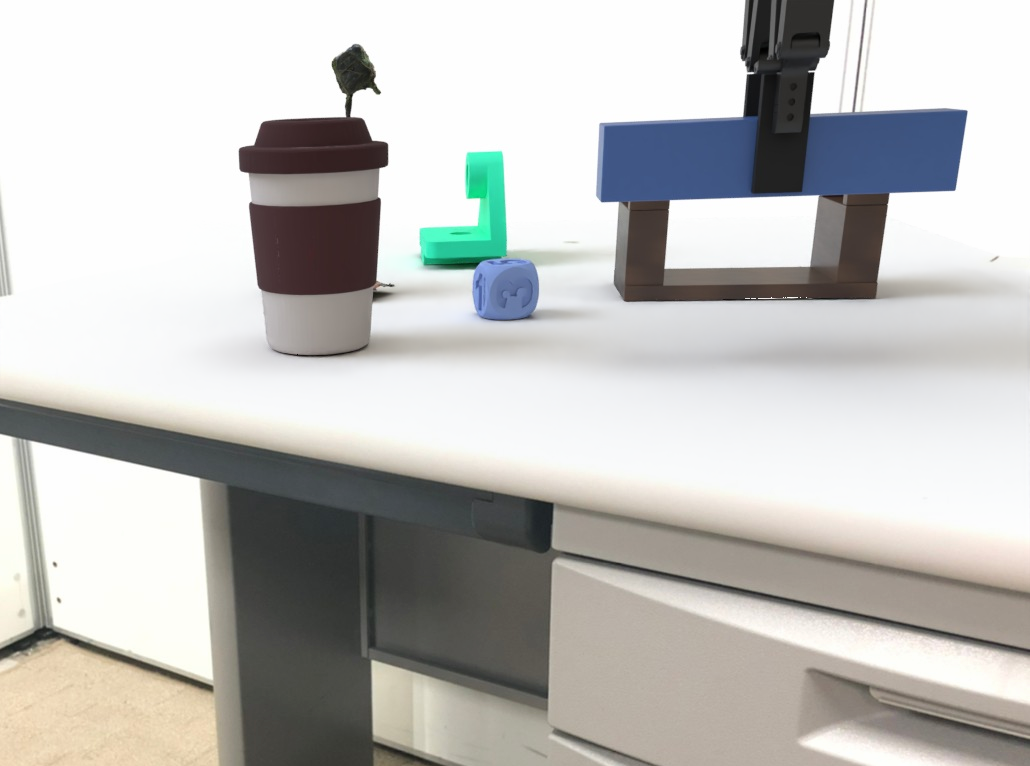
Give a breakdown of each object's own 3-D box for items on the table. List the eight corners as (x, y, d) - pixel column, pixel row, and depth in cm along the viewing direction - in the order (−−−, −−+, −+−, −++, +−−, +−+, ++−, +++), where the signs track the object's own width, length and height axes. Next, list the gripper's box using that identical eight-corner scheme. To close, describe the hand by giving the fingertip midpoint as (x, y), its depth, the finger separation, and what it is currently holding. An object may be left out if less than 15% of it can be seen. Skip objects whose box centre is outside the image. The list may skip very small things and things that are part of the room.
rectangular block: (934, 185, 72) (946, 108, 71) (956, 191, 69) (968, 110, 67) (595, 196, 75) (599, 122, 74) (600, 202, 72) (604, 125, 71)
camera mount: (418, 253, 126) (419, 150, 122) (491, 250, 125) (494, 147, 122) (426, 270, 115) (426, 157, 111) (506, 267, 114) (509, 154, 110)
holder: (844, 280, 101) (863, 142, 97) (875, 298, 93) (897, 149, 89) (613, 283, 104) (621, 150, 100) (623, 301, 96) (633, 156, 92)
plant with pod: (302, 284, 110) (294, 48, 102) (408, 292, 103) (407, 41, 96) (247, 298, 104) (234, 48, 96) (355, 307, 97) (350, 41, 90)
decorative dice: (471, 312, 93) (472, 260, 92) (520, 308, 94) (522, 257, 93) (487, 321, 90) (488, 267, 88) (538, 317, 90) (540, 264, 89)
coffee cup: (255, 333, 89) (244, 119, 83) (388, 330, 88) (387, 114, 83) (241, 362, 80) (229, 124, 74) (390, 359, 79) (389, 118, 73)
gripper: (711, -228, 72) (683, 179, 80) (772, -308, 56) (728, 205, 65) (844, -240, 70) (800, 175, 79) (942, -324, 55) (875, 200, 64)
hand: (768, 188), depth 72 cm, fingers closed on rectangular block, 4 cm apart
